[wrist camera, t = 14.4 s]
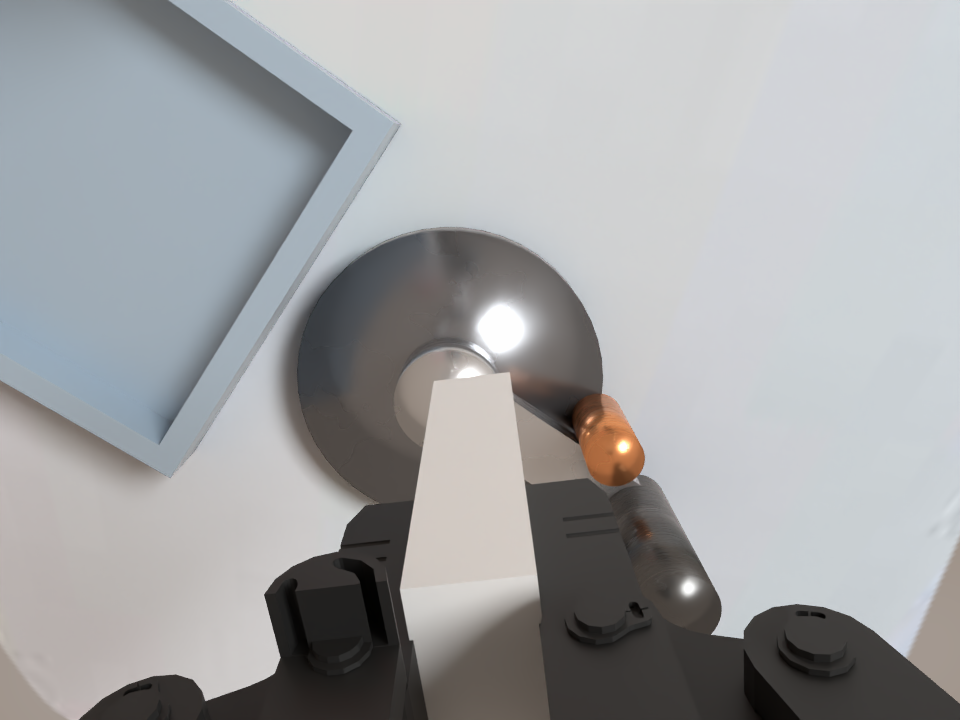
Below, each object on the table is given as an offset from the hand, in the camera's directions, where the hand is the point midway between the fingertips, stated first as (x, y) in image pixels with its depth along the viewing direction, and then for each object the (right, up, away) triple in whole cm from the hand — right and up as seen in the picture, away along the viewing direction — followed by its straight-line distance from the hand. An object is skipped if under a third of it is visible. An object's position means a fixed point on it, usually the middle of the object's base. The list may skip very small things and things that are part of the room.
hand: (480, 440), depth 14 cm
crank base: (-1, +1, +15) cm, 15 cm away
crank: (+2, -2, +14) cm, 15 cm away
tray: (-14, +8, +12) cm, 21 cm away
